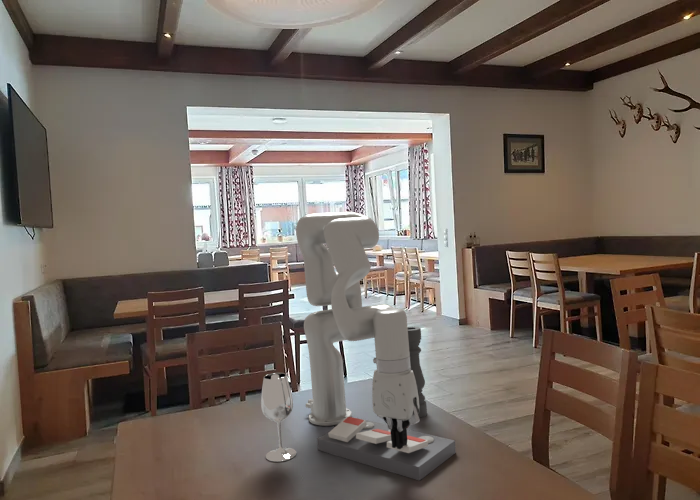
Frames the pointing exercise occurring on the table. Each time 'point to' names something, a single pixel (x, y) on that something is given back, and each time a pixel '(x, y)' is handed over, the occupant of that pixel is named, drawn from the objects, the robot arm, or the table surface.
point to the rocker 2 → (374, 436)
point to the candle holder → (417, 366)
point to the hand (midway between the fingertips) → (399, 446)
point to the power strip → (392, 452)
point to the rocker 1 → (347, 429)
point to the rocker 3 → (410, 444)
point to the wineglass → (277, 410)
